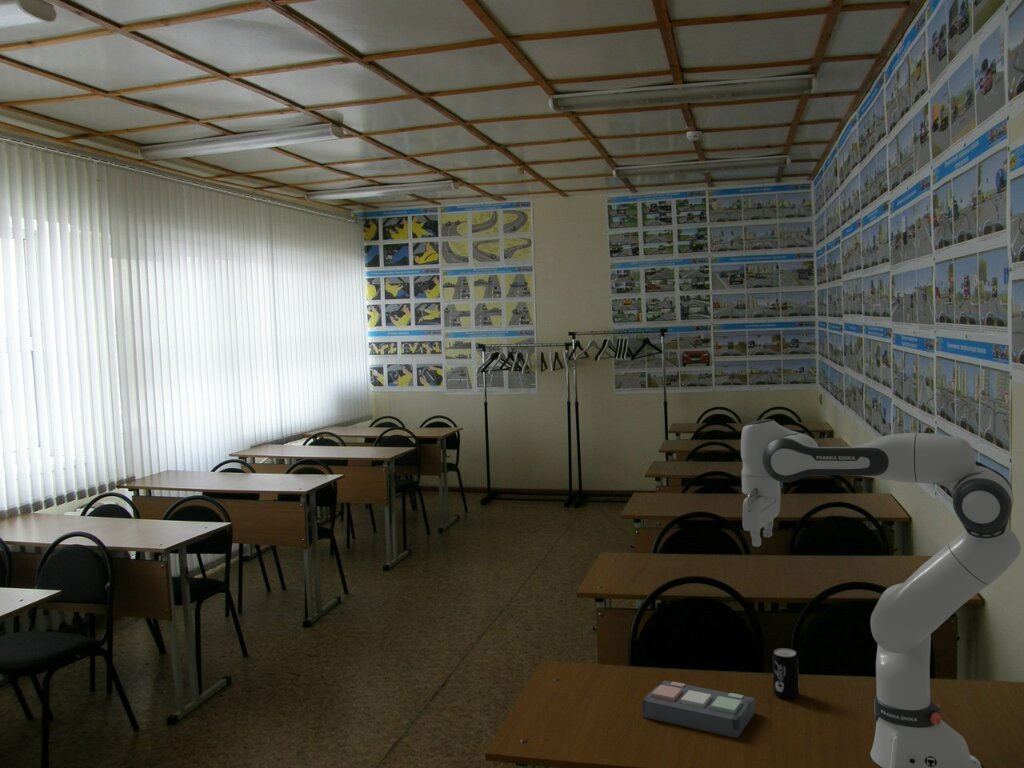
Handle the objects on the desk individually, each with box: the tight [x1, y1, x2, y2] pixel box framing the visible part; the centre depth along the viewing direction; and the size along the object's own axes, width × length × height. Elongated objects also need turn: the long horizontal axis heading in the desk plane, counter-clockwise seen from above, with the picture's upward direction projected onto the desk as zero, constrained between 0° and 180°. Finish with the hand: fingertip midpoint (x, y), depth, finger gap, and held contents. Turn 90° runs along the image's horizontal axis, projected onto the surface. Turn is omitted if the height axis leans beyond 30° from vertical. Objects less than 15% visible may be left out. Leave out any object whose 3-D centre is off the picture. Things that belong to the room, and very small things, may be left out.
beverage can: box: [772, 647, 800, 701], centre depth 223 cm, size 7×7×12 cm
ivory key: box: [681, 690, 711, 708], centre depth 213 cm, size 6×6×2 cm
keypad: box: [641, 680, 756, 739], centre depth 215 cm, size 25×15×4 cm, turn 57°
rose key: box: [652, 685, 682, 702], centre depth 218 cm, size 6×6×2 cm
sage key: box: [711, 696, 742, 715], centre depth 209 cm, size 6×6×2 cm
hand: (762, 541), depth 202 cm, fingers open, 8 cm apart
